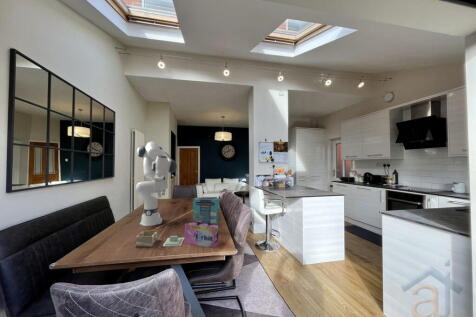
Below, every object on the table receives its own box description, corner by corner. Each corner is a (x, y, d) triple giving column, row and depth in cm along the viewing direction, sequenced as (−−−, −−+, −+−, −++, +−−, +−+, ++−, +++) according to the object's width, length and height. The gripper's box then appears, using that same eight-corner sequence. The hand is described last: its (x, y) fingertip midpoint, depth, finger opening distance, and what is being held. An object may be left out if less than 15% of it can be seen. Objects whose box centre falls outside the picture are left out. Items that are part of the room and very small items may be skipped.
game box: (219, 231, 159) (219, 198, 159) (217, 234, 152) (218, 199, 153) (194, 230, 161) (195, 197, 161) (192, 233, 154) (192, 199, 155)
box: (142, 240, 139) (143, 230, 139) (157, 239, 140) (157, 230, 140) (135, 247, 127) (136, 236, 128) (151, 246, 128) (151, 236, 128)
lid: (169, 239, 140) (169, 233, 140) (181, 238, 141) (181, 233, 141) (165, 245, 130) (165, 239, 130) (178, 244, 131) (178, 239, 131)
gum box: (220, 244, 134) (220, 224, 134) (215, 248, 126) (215, 227, 127) (190, 239, 142) (190, 220, 142) (184, 243, 134) (184, 223, 135)
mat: (168, 238, 143) (168, 237, 143) (184, 238, 144) (184, 237, 144) (162, 246, 129) (162, 245, 129) (180, 245, 130) (180, 245, 130)
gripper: (161, 176, 153) (161, 194, 152) (152, 178, 133) (152, 198, 132) (169, 176, 153) (169, 194, 153) (162, 178, 133) (161, 198, 133)
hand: (161, 196), depth 142 cm, fingers open, 8 cm apart
